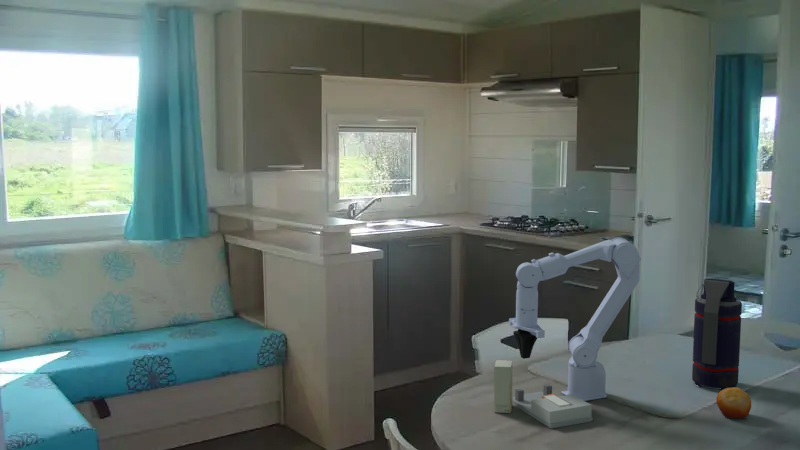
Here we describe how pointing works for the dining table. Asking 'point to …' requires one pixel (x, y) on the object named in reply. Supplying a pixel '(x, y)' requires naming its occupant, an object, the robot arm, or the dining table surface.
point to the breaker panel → (553, 408)
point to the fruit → (734, 402)
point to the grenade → (716, 335)
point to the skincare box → (503, 386)
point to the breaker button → (556, 400)
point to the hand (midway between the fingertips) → (525, 357)
